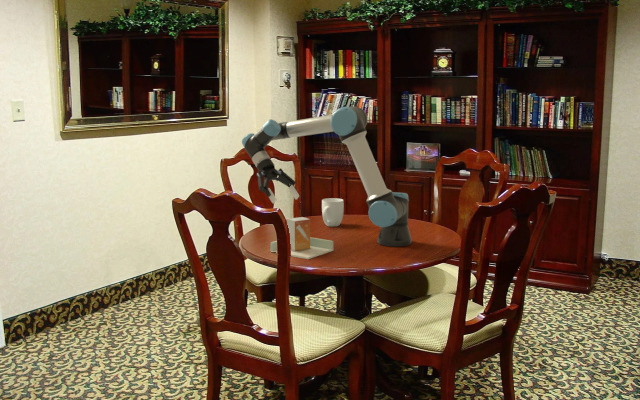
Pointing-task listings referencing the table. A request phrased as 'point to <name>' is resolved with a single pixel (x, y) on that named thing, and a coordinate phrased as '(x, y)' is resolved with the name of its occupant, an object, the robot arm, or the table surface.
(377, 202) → the robot arm
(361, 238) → the table surface
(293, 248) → the small box
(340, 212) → the mug
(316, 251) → the tray
